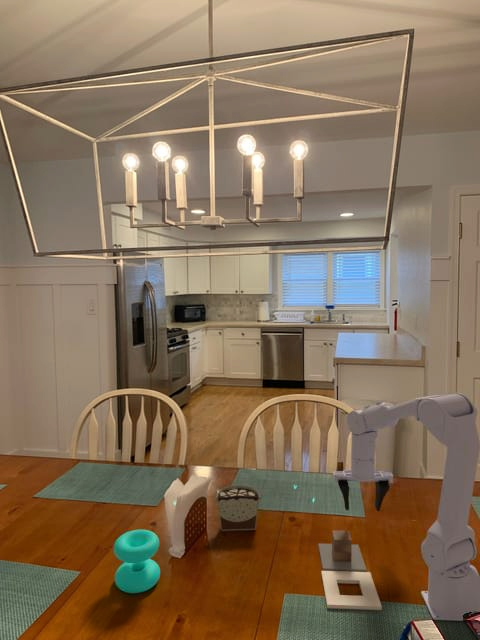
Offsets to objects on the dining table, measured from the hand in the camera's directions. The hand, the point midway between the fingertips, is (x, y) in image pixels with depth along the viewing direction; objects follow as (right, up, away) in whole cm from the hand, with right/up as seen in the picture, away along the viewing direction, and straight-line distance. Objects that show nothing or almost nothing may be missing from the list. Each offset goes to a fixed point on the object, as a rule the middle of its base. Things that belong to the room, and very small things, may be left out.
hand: (362, 508), depth 118 cm
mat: (-6, -10, -5) cm, 13 cm away
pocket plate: (-7, -11, -17) cm, 21 cm away
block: (-6, -10, -5) cm, 13 cm away
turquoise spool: (-54, -11, -13) cm, 56 cm away
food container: (-31, -9, +11) cm, 34 cm away
